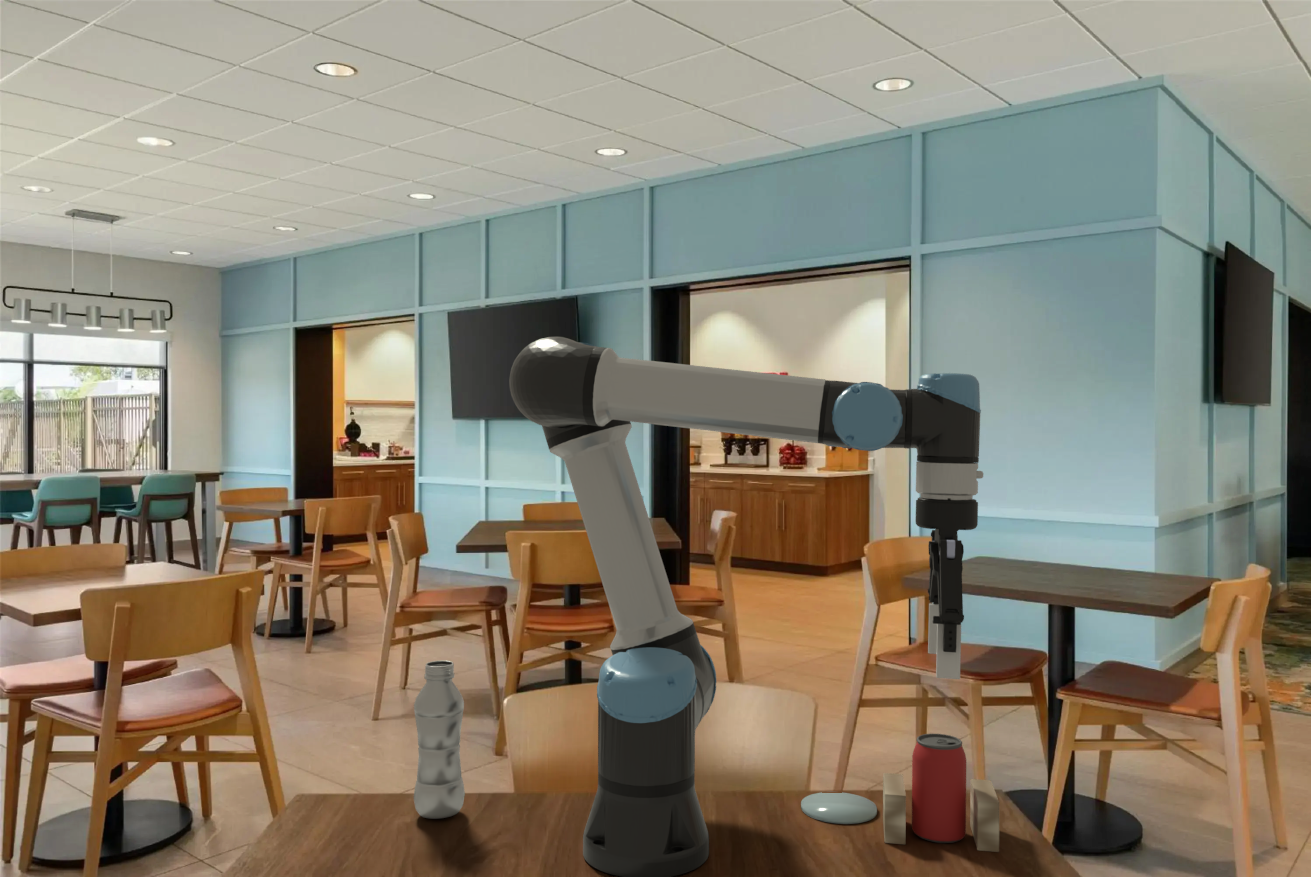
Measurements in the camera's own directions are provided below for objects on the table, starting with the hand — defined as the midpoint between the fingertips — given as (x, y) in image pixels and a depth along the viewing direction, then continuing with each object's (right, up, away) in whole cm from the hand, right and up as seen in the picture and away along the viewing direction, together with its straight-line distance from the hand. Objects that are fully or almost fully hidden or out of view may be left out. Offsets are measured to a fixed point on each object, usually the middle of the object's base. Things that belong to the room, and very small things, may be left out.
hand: (943, 665), depth 128 cm
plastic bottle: (-65, -21, +6) cm, 68 cm away
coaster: (-12, -21, +8) cm, 26 cm away
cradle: (-1, -21, 0) cm, 21 cm away
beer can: (-1, -22, 0) cm, 22 cm away
